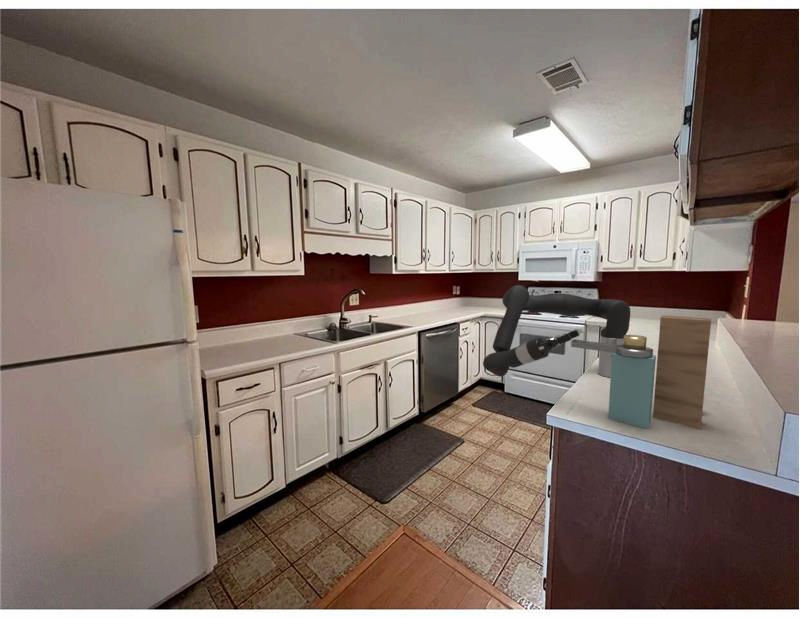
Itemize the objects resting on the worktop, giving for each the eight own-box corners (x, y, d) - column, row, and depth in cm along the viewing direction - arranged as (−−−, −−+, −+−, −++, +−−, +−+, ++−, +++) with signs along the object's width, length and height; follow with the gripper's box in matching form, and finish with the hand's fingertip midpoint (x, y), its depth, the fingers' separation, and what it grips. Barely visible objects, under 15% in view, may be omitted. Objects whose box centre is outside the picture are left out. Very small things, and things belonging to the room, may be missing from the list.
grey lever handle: (576, 343, 111) (577, 328, 111) (654, 354, 96) (656, 336, 96) (568, 348, 105) (568, 332, 104) (650, 360, 90) (651, 341, 89)
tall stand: (655, 411, 105) (663, 314, 101) (701, 422, 97) (711, 318, 93) (652, 417, 100) (660, 317, 96) (700, 429, 93) (711, 320, 89)
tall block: (612, 412, 104) (616, 350, 102) (650, 422, 97) (655, 355, 95) (608, 418, 100) (612, 353, 98) (647, 428, 93) (653, 359, 91)
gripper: (518, 345, 114) (561, 327, 103) (534, 338, 124) (575, 321, 113) (528, 364, 112) (573, 348, 102) (543, 356, 122) (585, 341, 112)
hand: (574, 334), depth 108 cm, fingers open, 8 cm apart
